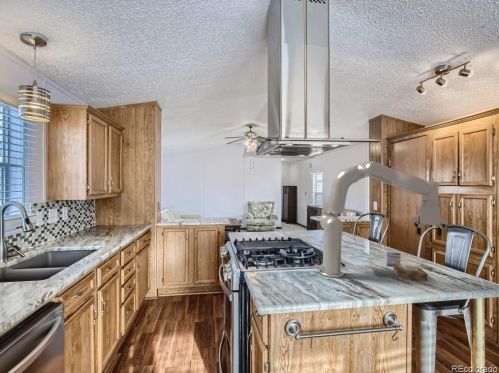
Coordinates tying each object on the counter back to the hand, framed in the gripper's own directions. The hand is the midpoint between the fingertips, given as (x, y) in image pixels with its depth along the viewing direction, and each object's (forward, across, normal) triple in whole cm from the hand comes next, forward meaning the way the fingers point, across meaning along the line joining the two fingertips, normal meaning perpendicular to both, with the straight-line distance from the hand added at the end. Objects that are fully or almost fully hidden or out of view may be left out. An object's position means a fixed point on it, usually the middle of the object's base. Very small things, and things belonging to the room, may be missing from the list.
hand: (429, 235), depth 149 cm
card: (+19, +9, 0) cm, 21 cm away
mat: (+23, +22, 0) cm, 31 cm away
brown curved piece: (+23, +9, 0) cm, 25 cm away
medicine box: (+23, +13, -18) cm, 32 cm away
